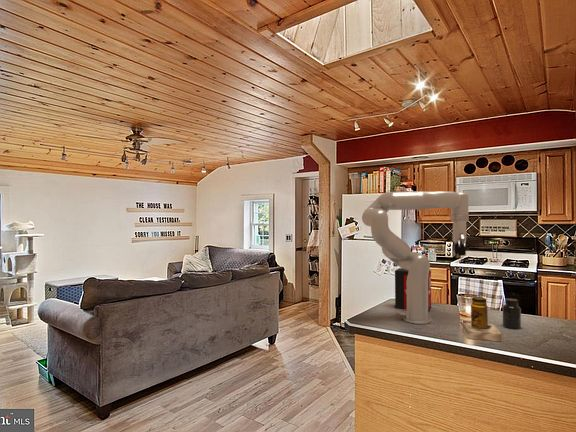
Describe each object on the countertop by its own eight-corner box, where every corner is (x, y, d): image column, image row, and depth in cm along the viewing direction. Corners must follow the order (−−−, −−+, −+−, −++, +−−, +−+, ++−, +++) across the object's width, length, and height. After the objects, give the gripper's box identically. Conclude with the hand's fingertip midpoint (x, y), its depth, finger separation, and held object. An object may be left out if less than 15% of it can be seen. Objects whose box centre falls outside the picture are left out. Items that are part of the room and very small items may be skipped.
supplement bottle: (523, 329, 157) (523, 301, 156) (506, 328, 158) (505, 301, 158) (517, 324, 163) (516, 298, 163) (500, 324, 165) (500, 297, 164)
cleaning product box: (395, 308, 193) (394, 270, 193) (399, 304, 201) (398, 268, 201) (428, 312, 185) (428, 272, 185) (431, 308, 193) (430, 270, 193)
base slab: (467, 338, 146) (467, 330, 146) (462, 329, 158) (462, 322, 158) (501, 341, 143) (501, 333, 143) (493, 331, 155) (493, 324, 154)
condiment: (468, 327, 150) (467, 298, 150) (472, 322, 157) (472, 294, 157) (488, 331, 146) (488, 301, 145) (492, 325, 152) (491, 297, 152)
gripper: (448, 218, 184) (449, 252, 185) (453, 218, 168) (454, 256, 168) (465, 218, 182) (465, 252, 182) (472, 218, 166) (472, 256, 166)
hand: (460, 254), depth 175 cm, fingers open, 9 cm apart
